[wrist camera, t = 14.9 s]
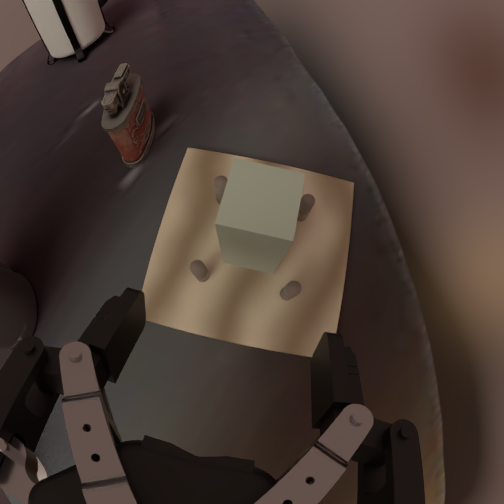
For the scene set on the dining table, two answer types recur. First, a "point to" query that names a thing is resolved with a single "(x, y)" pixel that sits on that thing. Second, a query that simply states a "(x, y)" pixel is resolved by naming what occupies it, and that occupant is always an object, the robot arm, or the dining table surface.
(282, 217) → the sage block
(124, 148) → the lighter
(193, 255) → the peg board
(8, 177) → the dining table surface
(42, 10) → the coffee press
